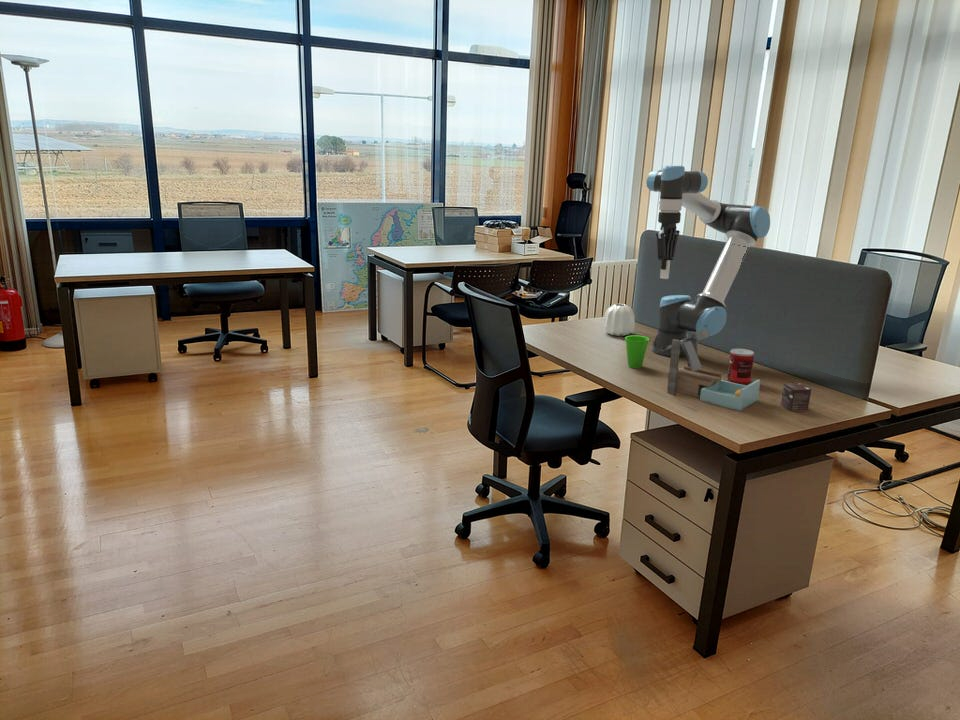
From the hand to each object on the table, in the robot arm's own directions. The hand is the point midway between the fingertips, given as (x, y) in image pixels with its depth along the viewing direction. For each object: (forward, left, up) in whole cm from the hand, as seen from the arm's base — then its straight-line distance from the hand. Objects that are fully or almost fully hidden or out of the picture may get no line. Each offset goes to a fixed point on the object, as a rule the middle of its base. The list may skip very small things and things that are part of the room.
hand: (664, 278), depth 245 cm
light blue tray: (+14, +34, -34) cm, 50 cm away
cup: (+2, -8, -35) cm, 36 cm away
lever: (+14, +21, -27) cm, 37 cm away
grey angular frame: (+14, +21, -34) cm, 43 cm away
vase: (-36, -39, -35) cm, 63 cm away
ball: (+14, +36, -31) cm, 49 cm away
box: (+6, +52, -35) cm, 63 cm away
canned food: (-8, +28, -35) cm, 45 cm away
